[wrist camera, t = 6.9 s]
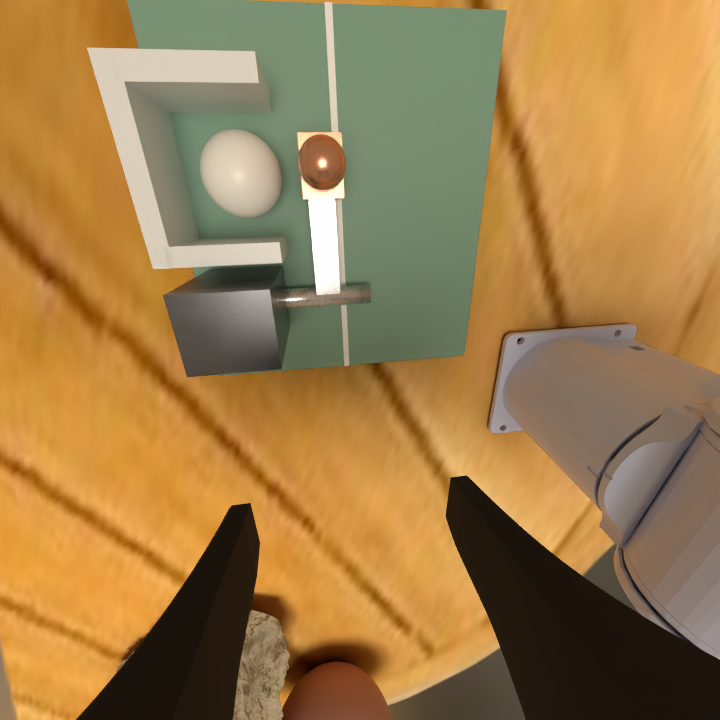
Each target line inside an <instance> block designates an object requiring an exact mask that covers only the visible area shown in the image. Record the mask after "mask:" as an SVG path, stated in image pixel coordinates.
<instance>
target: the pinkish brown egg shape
mask: <svg viewBox="0 0 720 720" xmlns="http://www.w3.org/2000/svg"><path fill="white" fill-rule="evenodd" d="M282 711H283V717H282V720H392V719H391V715H390V712H389V708H388V706H387V703H386V701H385V699H384V697H383V695H382V693H381V691H380V689H379V687H378V686H377V685H376V683H375V682H374V681H373V680H372V678H371V677H370V676H369V675H368V674H367V673H366V672H364V671H363V670H362V669H360V668H359V667H357V666H355V665H353V664H350V663H347V662H340V661H336V662H328V663H325V664H322V665H319V666H317V667H316V668H314V669H312V670H311V671H309V672H308V673H307V674H306V675H305V676H304V677H303V678H302V679H301V680H300V681H299V682H298V683H297V684H296V686H295V687H294V688H293V690H292V691H291V693H290V695H289V696H288V698H287V700H286V702H285V704H284V706H283V708H282Z"/></svg>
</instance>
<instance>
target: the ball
mask: <svg viewBox="0 0 720 720" xmlns="http://www.w3.org/2000/svg"><path fill="white" fill-rule="evenodd" d="M200 174H201V178H202V182H203V184H204V187H205V189H206V191H207V192H208V194H209V196H210V197H211V198H212V199H213V201H214V202H215V203H216V204H217V205H218V206H219V207H221V208H222V209H223V210H225V211H226V212H228V213H230V214H233V215H235V216H238V217H244V218H252V217H257V216H260V215H263V214H264V213H266V212H268V211H269V210H270V209H271V208H272V207H273V206H274V205H275V203H276V202H277V200H278V198H279V195H280V192H281V187H282V175H281V169H280V166H279V163H278V161H277V158H276V156H275V155H274V153H273V151H272V150H271V149H270V147H269V146H268V145H267V144H266V143H265V142H264V141H263V140H262V139H261V138H259V137H258V136H256V135H255V134H253V133H251V132H248V131H245V130H241V129H226V130H223V131H220V132H218V133H216V134H215V135H213V136H212V137H211V138H210V139H209V140H208V141H207V143H206V144H205V146H204V148H203V150H202V154H201V158H200Z"/></svg>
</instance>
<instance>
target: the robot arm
mask: <svg viewBox="0 0 720 720" xmlns="http://www.w3.org/2000/svg"><path fill="white" fill-rule="evenodd" d="M615 331H616V332H615ZM636 333H637V327H636V326H635V325H632V324H618V325H605V326H592V327H579V328H566V329H553V330H540V331H527V332H514V333H509V334H507V335H506V336H505V338H504V340H503V346H502V352H501V357H500V363H499V369H498V374H497V380H496V385H495V391H494V397H493V402H492V408H491V414H490V419H489V425H488V429H489V430H490V431H491V433H493V434H497V433H506V432H515V431H523V430H524V431H525V432H526V433H527V434H528V435H529V436H530V437H531V438H532V439H533V440H534V441H535V442H536V443H537V444H538V445H539V446H540V448H541V449H542V450H543V451H544V452H545V453H546V454H547V455H548V456H549V457H550V458H551V459H552V460H553V461H554V462H555V463H556V464H557V465H558V466H559V467H560V468H561V469H562V471H563V472H564V473H565V474H566V475H567V476H568V477H569V478H570V479H571V480H572V481H573V482H574V483H575V484H576V485H577V486H578V487H579V488H580V489H581V490H582V491H583V492H584V494H585V495H586V496H587V497H588V498H589V499H590V500H591V501H592V502H593V503H594V504H595V505H596V506H597V507H598V508H599V509H600V510H601V511H602V520H601V522H600V527H601V528H602V529H603V531H604V532H605V533H606V534H607V535H608V536H609V537H610V538H611V539H612V540H613V542H614V543H615V544H616V545H617V548H616V551H615V554H614V566H615V571H616V574H617V577H618V579H619V582H620V584H621V586H622V588H623V589H624V591H625V593H626V595H627V596H628V598H629V599H630V601H631V602H632V604H633V605H634V606H635V608H636V609H637V610H638V612H639V613H640V614H641V615H640V614H639V613H637V612H635V611H634V610H632V609H631V608H629V607H628V606H626V605H624V604H623V603H621V602H620V601H618V600H617V599H615V598H614V597H612V596H611V595H609V594H608V593H606V592H605V591H603V590H602V589H600V588H599V587H597V586H596V585H594V584H593V583H591V582H590V581H588V580H587V579H586V578H584V577H583V576H582V575H580V574H579V573H577V572H576V571H575V570H573V569H572V568H571V567H569V566H568V565H567V564H565V563H564V562H563V561H561V560H560V559H559V558H557V557H556V556H555V555H554V554H552V553H551V552H550V551H549V550H547V549H546V548H545V547H544V546H543V545H541V544H540V543H539V542H538V541H537V540H535V539H534V538H533V537H532V536H531V535H530V534H528V533H527V532H526V531H525V530H524V529H523V528H522V527H520V526H519V525H518V524H517V523H516V522H515V521H514V520H513V519H512V518H510V517H509V516H508V515H507V514H506V513H505V512H504V511H503V510H502V509H501V508H500V507H499V506H498V505H497V504H495V503H494V502H493V501H492V500H491V499H490V498H489V497H488V496H487V495H486V494H485V493H484V492H483V491H482V490H481V489H480V488H479V487H478V486H477V485H476V484H475V483H474V482H473V481H472V480H471V479H470V478H469V477H468V476H459V477H451V480H450V487H449V495H448V502H447V510H446V519H447V522H448V525H449V528H450V531H451V534H452V537H453V540H454V542H455V545H456V547H457V550H458V552H459V554H460V556H461V559H462V561H463V563H464V565H465V567H466V569H467V572H468V574H469V576H470V578H471V580H472V582H473V584H474V587H475V589H476V591H477V593H478V595H479V597H480V599H481V602H482V604H483V606H484V608H485V610H486V612H487V615H488V617H489V619H490V622H491V624H492V626H493V629H494V632H495V634H496V637H497V640H498V642H499V645H500V648H501V650H502V653H503V656H504V658H505V661H506V664H507V666H508V669H509V672H510V675H511V678H512V681H513V684H514V686H515V689H516V692H517V695H518V698H519V700H520V703H521V706H522V709H523V712H524V715H525V718H526V720H720V374H717V373H715V372H712V371H710V370H707V369H705V368H702V367H700V366H698V365H695V364H693V363H690V362H688V361H685V360H683V359H680V358H678V357H675V356H673V355H670V354H668V353H665V352H663V351H660V350H658V349H655V348H653V347H651V346H648V345H646V344H643V343H641V342H638V341H636V340H634V338H635V335H636ZM519 338H521V340H520V341H519V342H517V340H518V339H519ZM502 425H503V426H502ZM501 426H502V427H501ZM259 547H260V541H259V537H258V533H257V528H256V524H255V520H254V516H253V512H252V508H251V503H248V504H240V505H232V506H231V507H230V508H229V510H228V512H227V514H226V516H225V517H224V519H223V521H222V523H221V525H220V526H219V528H218V530H217V532H216V533H215V535H214V537H213V538H212V540H211V542H210V543H209V545H208V547H207V548H206V550H205V552H204V553H203V555H202V556H201V558H200V560H199V561H198V563H197V564H196V566H195V568H194V569H193V571H192V572H191V574H190V575H189V577H188V578H187V580H186V581H185V583H184V584H183V586H182V587H181V589H180V590H179V592H178V593H177V594H176V596H175V597H174V599H173V600H172V602H171V603H170V605H169V606H168V607H167V609H166V610H165V612H164V613H163V614H162V616H161V617H160V618H159V620H158V621H157V623H156V624H155V625H154V627H153V628H152V629H151V630H150V632H149V633H148V634H147V636H146V637H145V638H144V640H143V641H142V642H141V643H140V645H139V646H138V647H137V649H136V650H135V651H134V652H133V654H132V655H131V656H130V657H129V658H128V660H127V661H126V662H125V663H124V665H123V666H122V667H121V668H120V669H119V671H118V672H117V673H116V674H115V676H114V677H113V678H112V679H111V680H110V682H109V683H108V684H107V685H106V686H105V687H104V689H103V690H102V691H101V692H100V693H99V694H98V696H97V697H96V698H95V699H94V700H93V701H92V702H91V703H90V705H89V706H88V707H87V708H86V709H85V710H84V711H83V712H82V714H81V715H80V716H79V717H78V718H77V719H76V720H233V716H234V707H235V698H236V690H237V681H238V674H239V668H240V661H241V656H242V650H243V645H244V640H245V635H246V630H247V625H248V619H249V614H250V609H251V604H252V599H253V594H254V588H255V583H256V578H257V569H258V559H259Z"/></svg>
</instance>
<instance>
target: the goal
mask: <svg viewBox="0 0 720 720" xmlns="http://www.w3.org/2000/svg"><path fill="white" fill-rule="evenodd" d="M87 49H88V53H89V56H90V59H91V63H92V66H93V69H94V73H95V76H96V79H97V83H98V86H99V89H100V93H101V96H102V99H103V103H104V106H105V109H106V113H107V116H108V119H109V123H110V126H111V130H112V133H113V136H114V140H115V143H116V146H117V150H118V153H119V156H120V160H121V163H122V166H123V170H124V173H125V176H126V180H127V183H128V186H129V190H130V193H131V197H132V200H133V203H134V207H135V210H136V213H137V217H138V220H139V223H140V227H141V230H142V233H143V237H144V240H145V243H146V247H147V250H148V253H149V257H150V260H151V263H152V267H153V269H166V268H187V267H207V266H228V265H249V264H270V263H282V262H283V261H284V259H285V257H286V256H287V254H288V246H287V237H286V236H268V237H242V238H217V239H199V238H198V233H197V229H196V225H195V220H194V216H193V212H192V207H191V203H190V198H189V194H188V190H187V185H186V181H185V177H184V172H183V168H182V164H181V159H180V155H179V151H178V146H177V142H176V138H175V133H174V129H173V124H172V120H171V116H170V112H175V113H272V111H271V103H270V94H269V88H268V85H267V83H266V80H265V77H264V75H263V72H262V69H261V66H260V64H259V61H258V58H257V56H256V53H255V51H219V50H172V49H125V48H87Z"/></svg>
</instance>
